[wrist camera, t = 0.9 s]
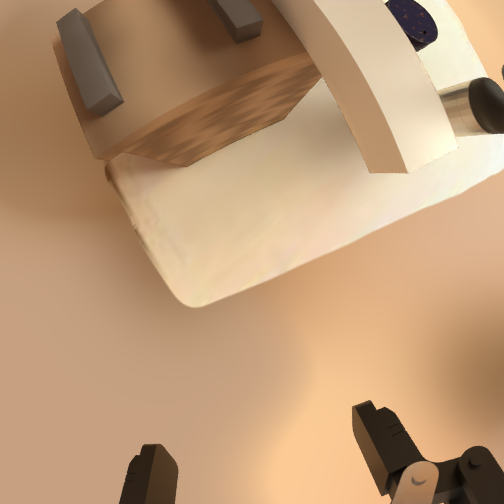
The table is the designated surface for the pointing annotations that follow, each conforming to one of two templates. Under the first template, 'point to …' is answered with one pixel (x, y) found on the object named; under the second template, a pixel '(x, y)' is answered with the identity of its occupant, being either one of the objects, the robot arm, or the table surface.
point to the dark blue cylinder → (414, 22)
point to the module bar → (374, 81)
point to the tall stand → (179, 74)
